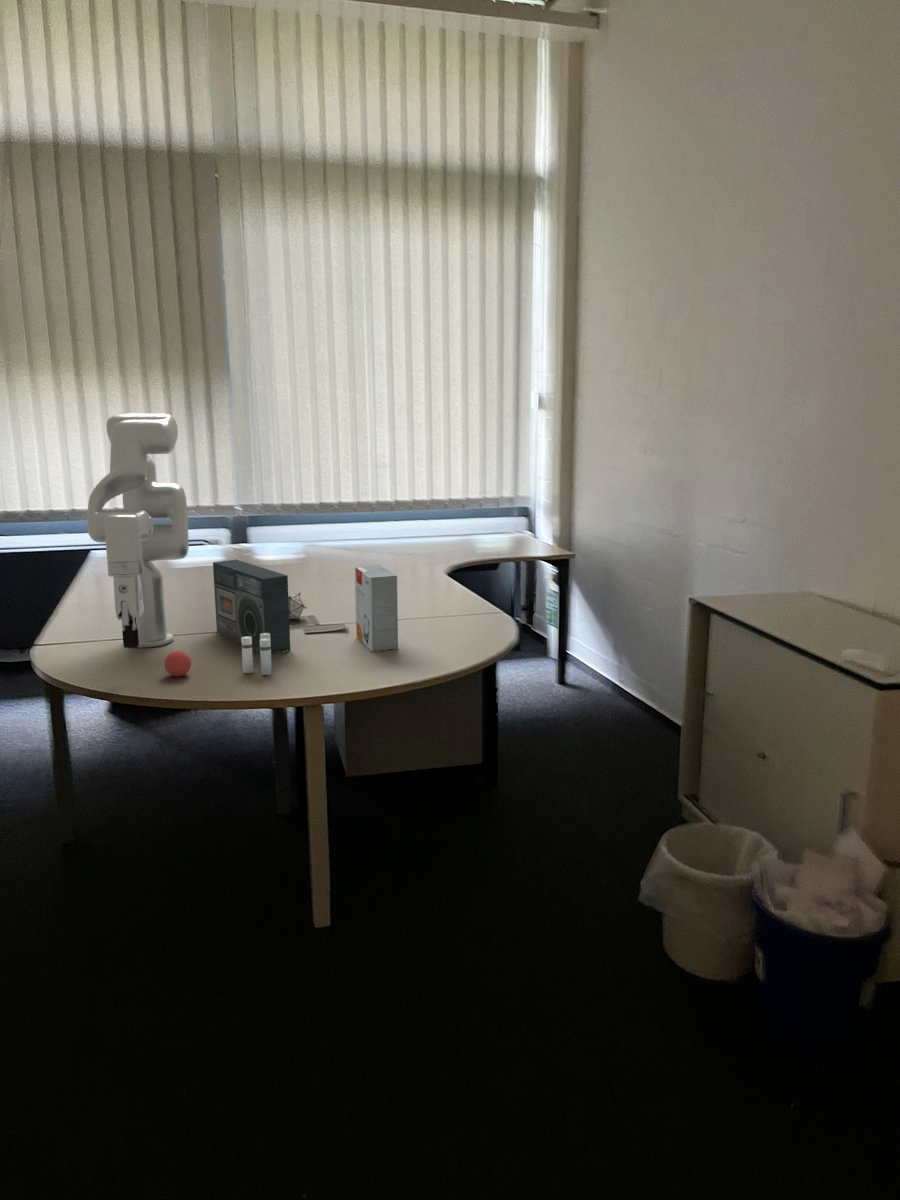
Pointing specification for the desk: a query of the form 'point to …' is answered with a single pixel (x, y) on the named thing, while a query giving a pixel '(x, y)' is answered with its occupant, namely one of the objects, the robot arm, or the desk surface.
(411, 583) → the desk surface
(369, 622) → the hard drive box
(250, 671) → the front pin
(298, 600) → the game die
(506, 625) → the desk surface
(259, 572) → the cassette player
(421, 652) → the desk surface
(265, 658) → the back right pin
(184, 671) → the ball
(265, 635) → the back left pin
